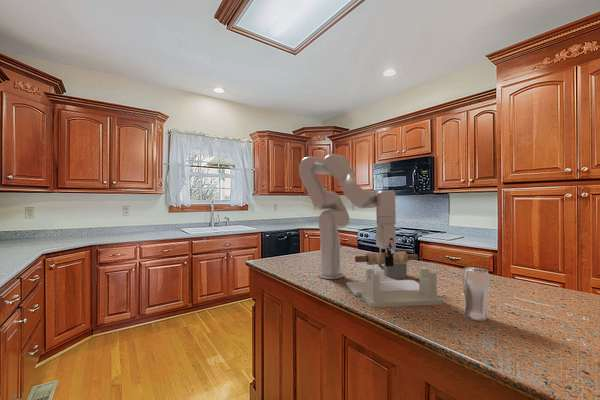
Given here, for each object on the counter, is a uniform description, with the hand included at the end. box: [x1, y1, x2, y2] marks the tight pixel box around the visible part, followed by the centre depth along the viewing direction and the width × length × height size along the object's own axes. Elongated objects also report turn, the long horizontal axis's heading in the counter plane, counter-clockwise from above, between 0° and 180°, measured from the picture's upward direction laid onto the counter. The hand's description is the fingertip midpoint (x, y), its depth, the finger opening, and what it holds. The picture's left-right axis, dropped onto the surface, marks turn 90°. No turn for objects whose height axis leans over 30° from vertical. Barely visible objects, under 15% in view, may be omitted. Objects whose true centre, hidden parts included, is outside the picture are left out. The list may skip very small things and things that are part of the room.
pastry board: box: [345, 279, 419, 297], centre depth 114 cm, size 13×30×1 cm, turn 95°
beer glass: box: [462, 266, 490, 322], centre depth 87 cm, size 7×7×15 cm
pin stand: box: [361, 267, 443, 308], centre depth 101 cm, size 10×26×11 cm, turn 95°
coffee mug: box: [378, 262, 408, 280], centre depth 134 cm, size 13×10×10 cm
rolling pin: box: [354, 251, 419, 266], centre depth 114 cm, size 26×5×5 cm, turn 95°
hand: (386, 264), depth 114 cm, fingers closed on rolling pin, 4 cm apart
